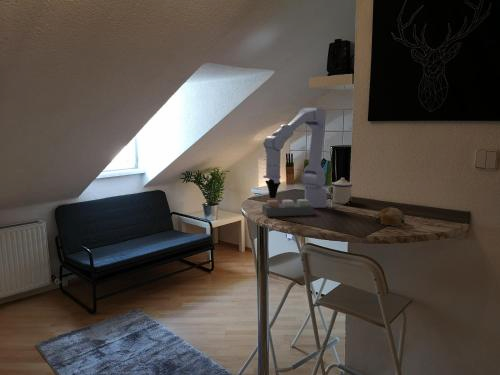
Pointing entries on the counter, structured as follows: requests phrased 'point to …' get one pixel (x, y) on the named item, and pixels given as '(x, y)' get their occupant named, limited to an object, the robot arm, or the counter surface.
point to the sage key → (302, 202)
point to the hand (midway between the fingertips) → (272, 197)
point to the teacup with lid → (341, 191)
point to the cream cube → (287, 203)
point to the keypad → (287, 210)
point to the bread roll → (390, 217)
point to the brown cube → (272, 203)
